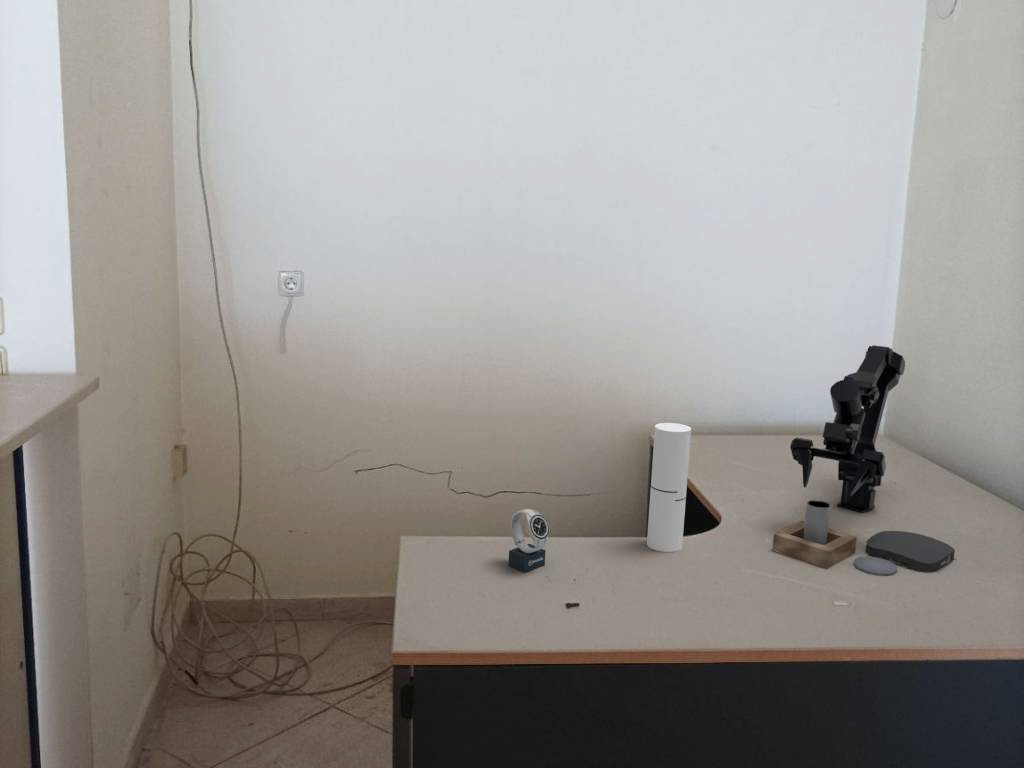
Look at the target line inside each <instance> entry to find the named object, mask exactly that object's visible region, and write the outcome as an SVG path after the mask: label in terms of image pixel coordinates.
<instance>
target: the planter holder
mask: <svg viewBox="0 0 1024 768" xmlns="http://www.w3.org/2000/svg"><path fill="white" fill-rule="evenodd" d="M804 527H805V520H801V521H799V522H797V523H795V524H792V525H791V526H788V527H787V528H783V529H781V530H779V531H777V532H775V533H774V534H773V537H772V539H773V540H772V549H771V550H772V551H773V550H775V551H774V552H776V551H778V552H777V553H779V552H781V553H780V554H782V553H783V555H785V554H786V555H785V556H788V555H789V557H791V556H792V558H794V557H795V558H794V559H797V558H798V560H800V559H801V560H800V561H804V562H807V563H810V564H813V565H816V566H819V567H821V568H825V569H829V568H830V567H832V566H834V565H836V564H838V563H840V562H841V561H843V560H845V559H847V558H848V557H851V556H853V555H854V554H856V549H857V548H856V547H857V542H858V541H857V539H858V537H857V536H856V535H851V534H849V533H845V532H842V531H839V530H835V529H832V528H829V527H828V534H827V543H826V545H821V544H818V543H815V542H811V541H808V540H805V539H803V537H804Z"/></svg>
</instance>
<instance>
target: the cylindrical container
mask: <svg viewBox="0 0 1024 768" xmlns="http://www.w3.org/2000/svg"><path fill="white" fill-rule="evenodd" d="M691 436H692V427H690V426H688V425H686V424H682V423H676V422H659V423H657V424H655V425H654V437H653V447H652V448H653V451H652V463H651V467H652V468H651V477H650V478H651V479H650V480H651V482H650V493H649V507H648V509H649V510H648V519H647V520H648V521H647V523H648V524H647V537H646V545H648V546H647V547H648V548H650V549H651V550H654V551H656V552H663V553H675V552H678V551H681V550H682V548H683V539H684V528H685V526H684V525H685V515H686V514H685V513H686V502H687V501H686V500H687V499H686V498H687V490H688V474H689V463H690V462H689V461H690V448H691V438H692V437H691Z"/></svg>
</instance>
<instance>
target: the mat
mask: <svg viewBox="0 0 1024 768" xmlns="http://www.w3.org/2000/svg"><path fill="white" fill-rule="evenodd" d="M853 566H854V567H855V568H856V569H857V570H859V571H861V572H864V573H866V574H870V575H874V576H883V577H884V576H894V575H896V574H897V573H898V565H896V564H894V563H892V562H890V561H888V560H885V559H882V558H877V557H872V556H870V555H868V556H866V555H865V556H864V555H863V556H858V557H856V558H854V560H853Z"/></svg>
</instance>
